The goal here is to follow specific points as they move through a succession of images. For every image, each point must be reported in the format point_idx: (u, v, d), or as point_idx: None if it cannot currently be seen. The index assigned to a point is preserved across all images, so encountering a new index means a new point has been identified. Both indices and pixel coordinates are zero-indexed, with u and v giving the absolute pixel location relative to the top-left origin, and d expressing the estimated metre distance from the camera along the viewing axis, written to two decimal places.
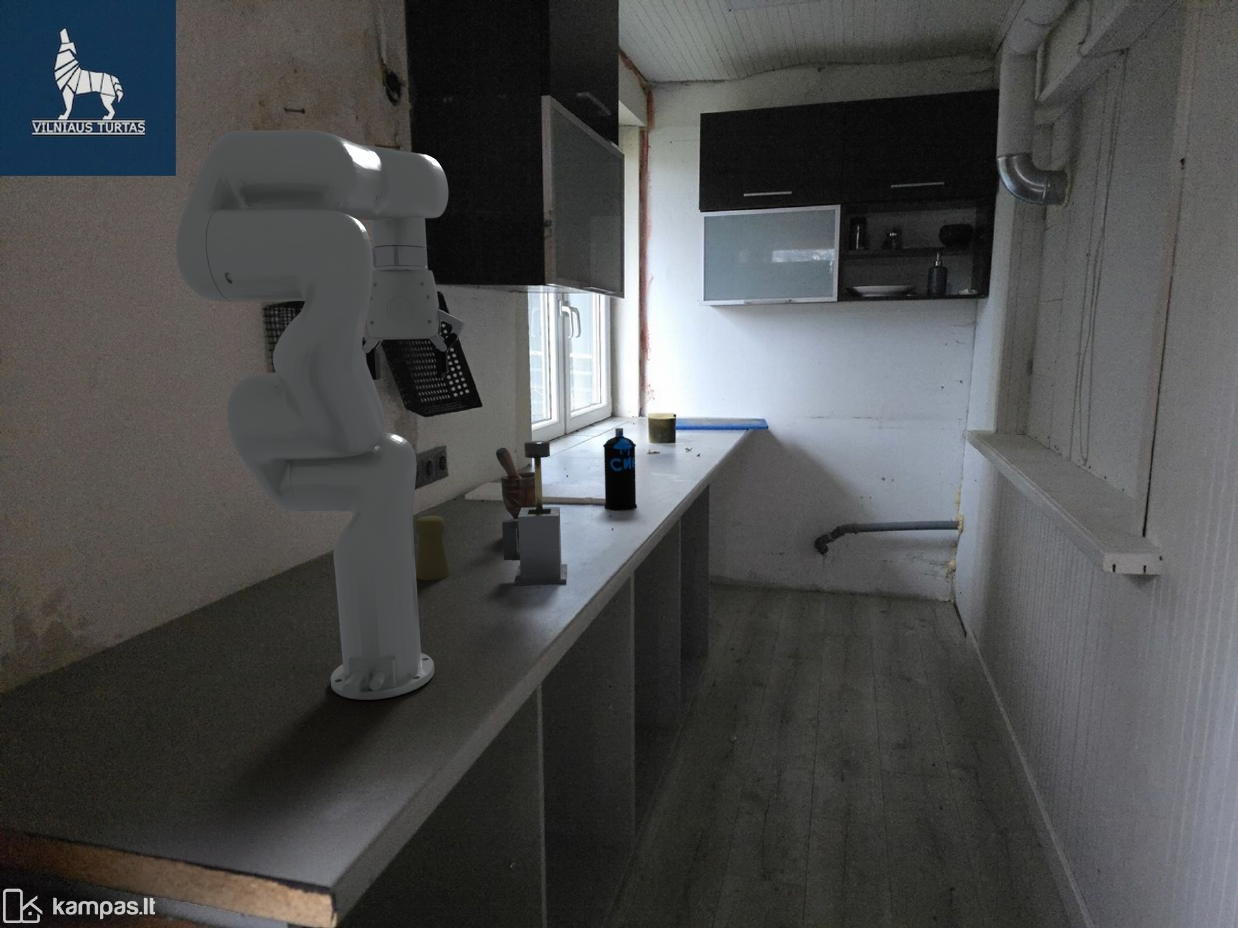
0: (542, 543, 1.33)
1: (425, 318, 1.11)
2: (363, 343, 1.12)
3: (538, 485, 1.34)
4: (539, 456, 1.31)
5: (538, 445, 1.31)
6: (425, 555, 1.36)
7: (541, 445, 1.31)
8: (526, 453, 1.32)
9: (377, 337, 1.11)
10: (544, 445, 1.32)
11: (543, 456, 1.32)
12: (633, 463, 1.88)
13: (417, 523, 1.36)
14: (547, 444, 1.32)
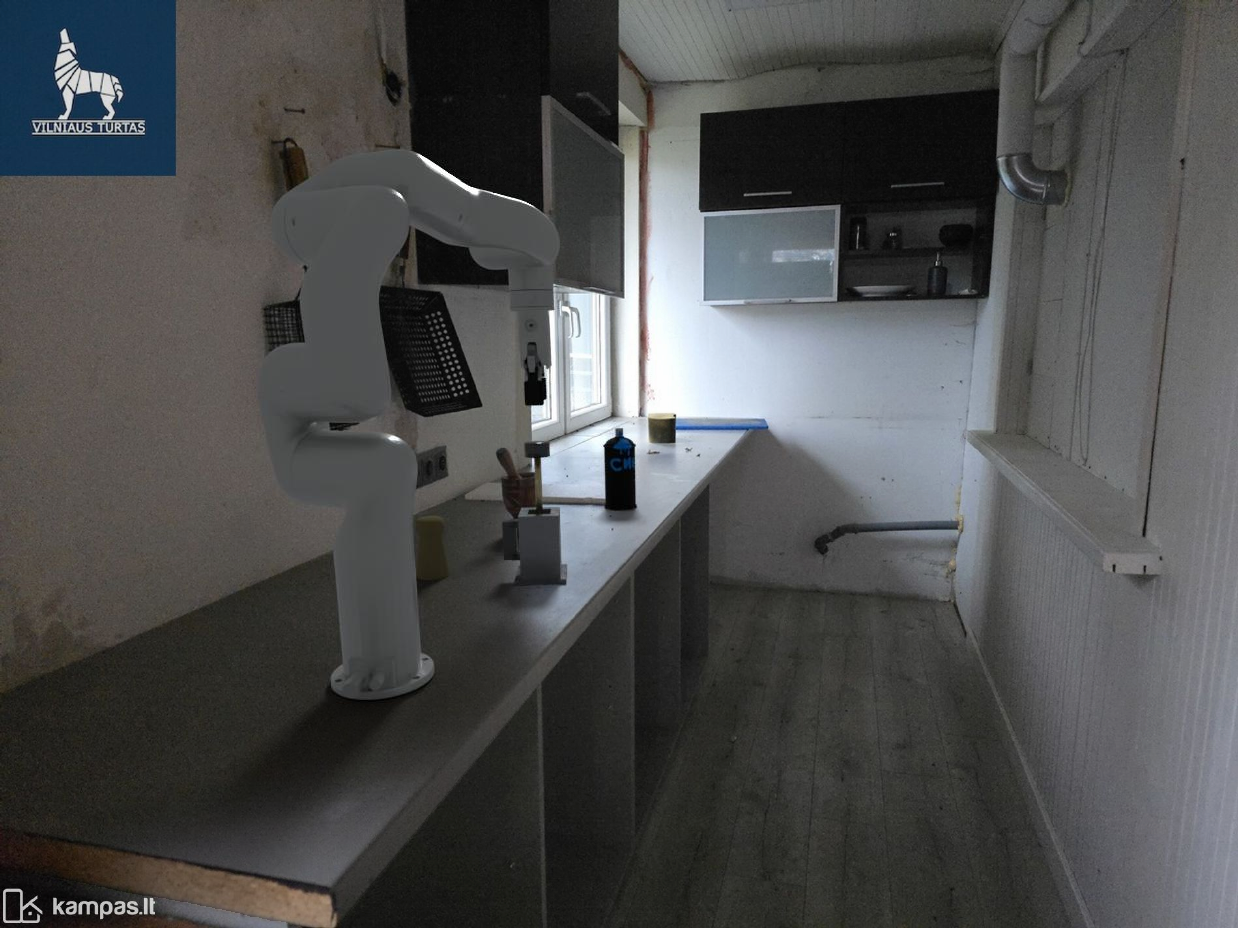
0: (542, 543, 1.33)
1: None
2: (537, 373, 1.25)
3: (538, 485, 1.34)
4: (539, 456, 1.31)
5: (538, 445, 1.31)
6: (425, 555, 1.36)
7: (541, 445, 1.31)
8: (526, 453, 1.32)
9: (549, 367, 1.28)
10: (544, 445, 1.32)
11: (543, 456, 1.32)
12: (633, 463, 1.88)
13: (417, 523, 1.36)
14: (547, 444, 1.32)
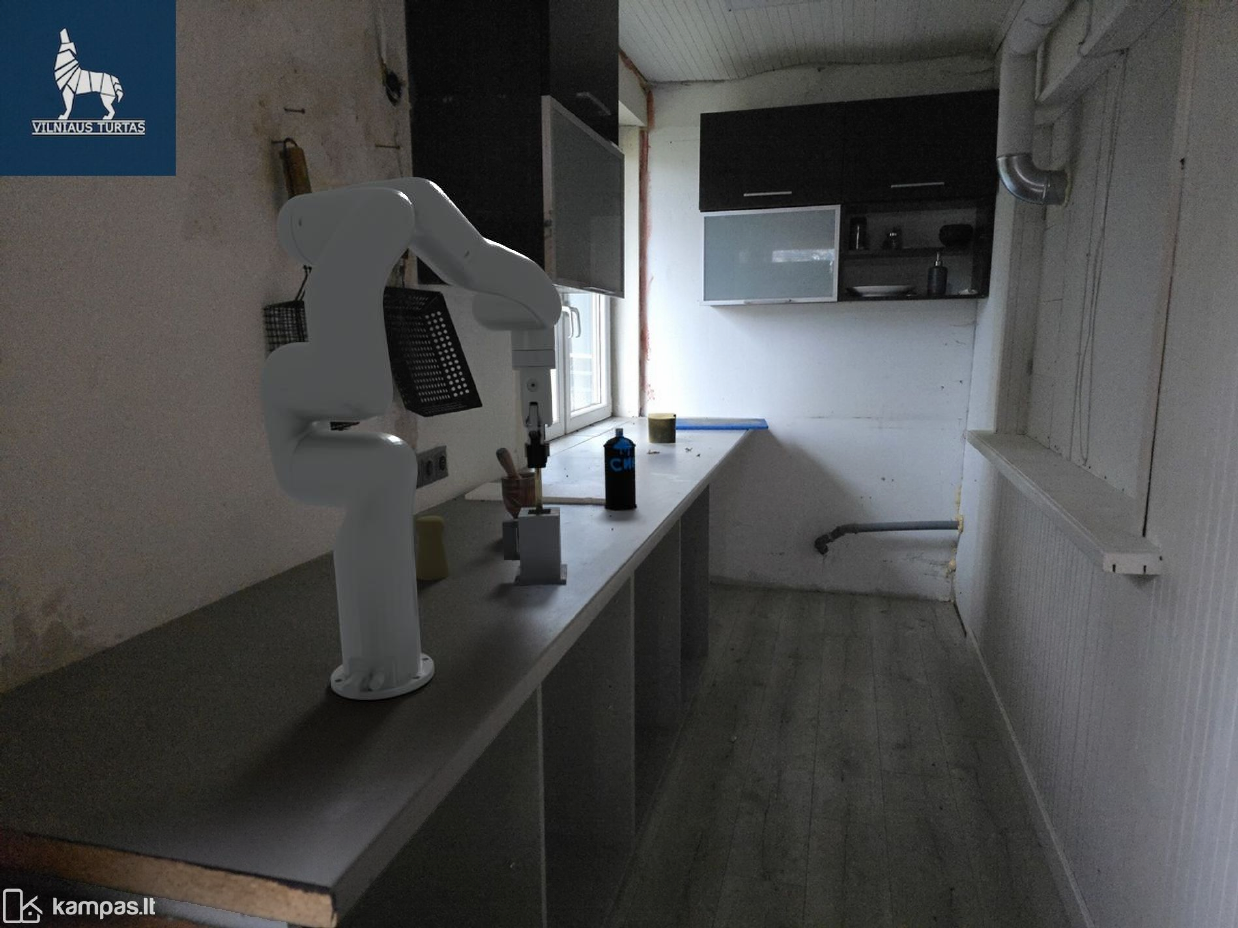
0: (542, 543, 1.33)
1: None
2: (539, 440, 1.29)
3: (538, 485, 1.34)
4: None
5: None
6: (425, 555, 1.36)
7: None
8: (526, 453, 1.32)
9: (550, 425, 1.29)
10: None
11: None
12: (633, 463, 1.88)
13: (417, 523, 1.36)
14: (547, 444, 1.32)
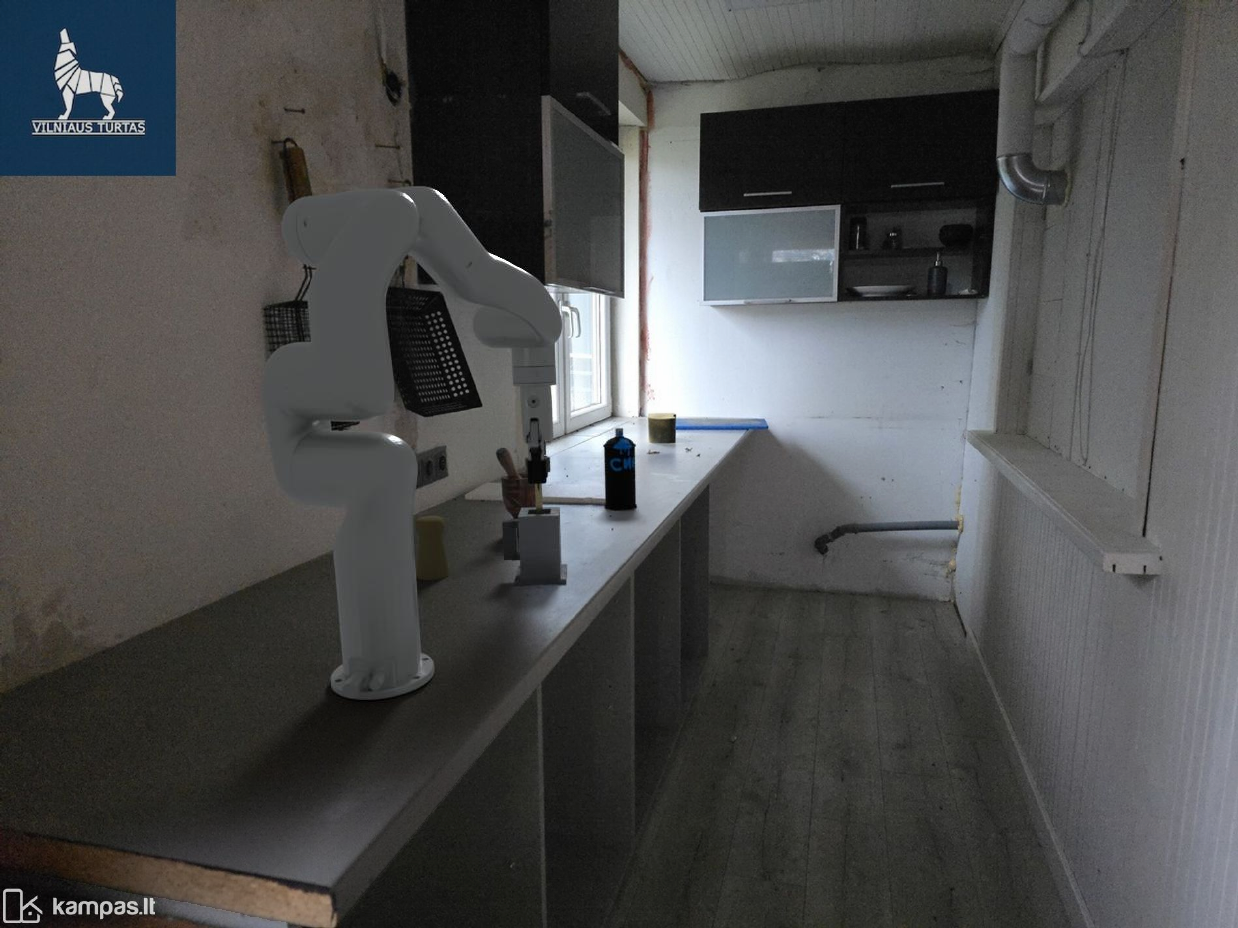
0: (542, 543, 1.33)
1: None
2: (540, 455, 1.29)
3: (539, 500, 1.34)
4: None
5: None
6: (425, 555, 1.36)
7: None
8: (527, 468, 1.32)
9: (551, 441, 1.30)
10: None
11: None
12: (633, 463, 1.88)
13: (417, 523, 1.36)
14: (548, 460, 1.33)
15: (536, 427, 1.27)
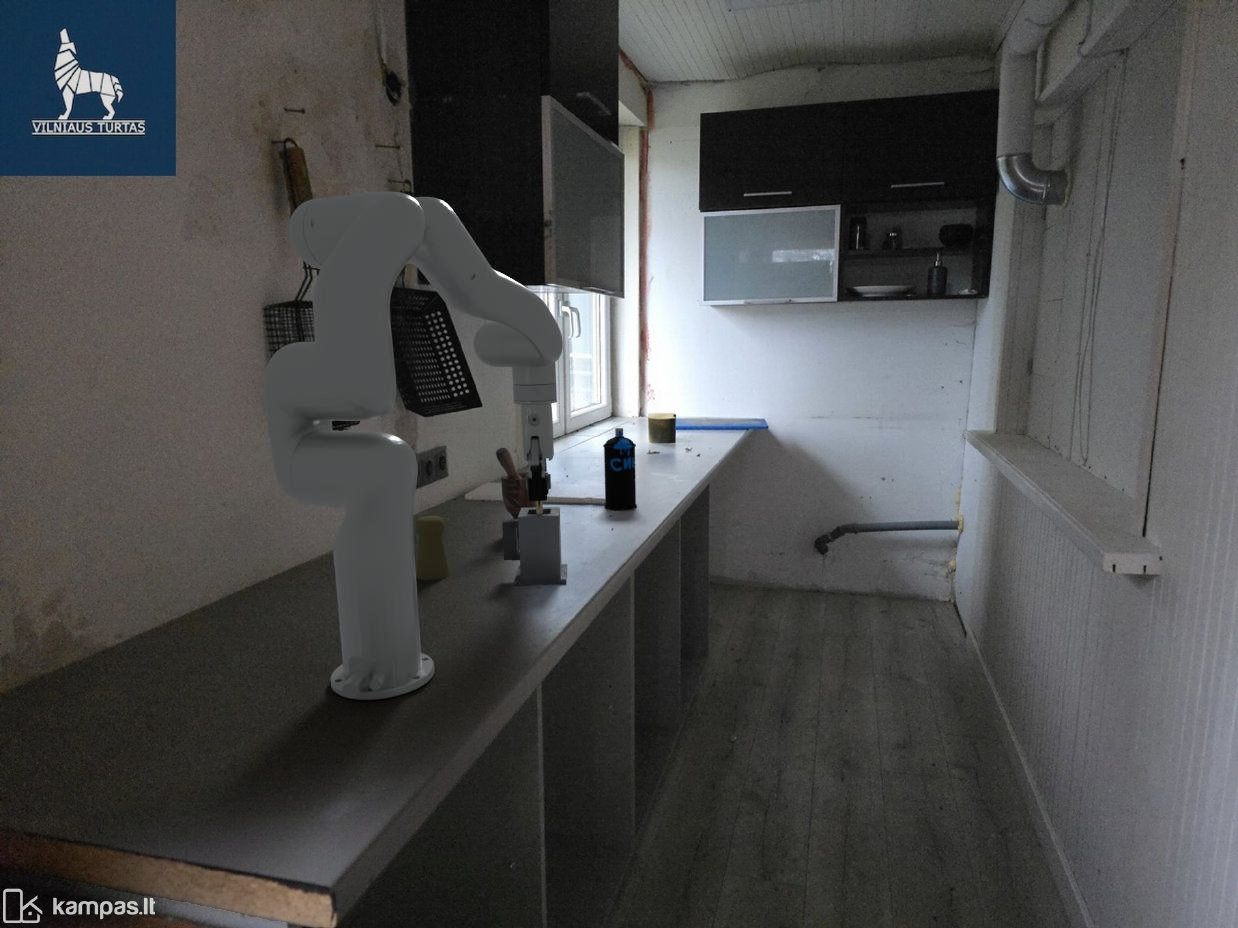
0: (542, 543, 1.33)
1: None
2: (541, 473, 1.30)
3: None
4: None
5: None
6: (425, 555, 1.36)
7: None
8: (527, 485, 1.33)
9: (551, 459, 1.30)
10: None
11: None
12: (633, 463, 1.88)
13: (417, 523, 1.36)
14: (548, 477, 1.33)
15: (537, 445, 1.28)
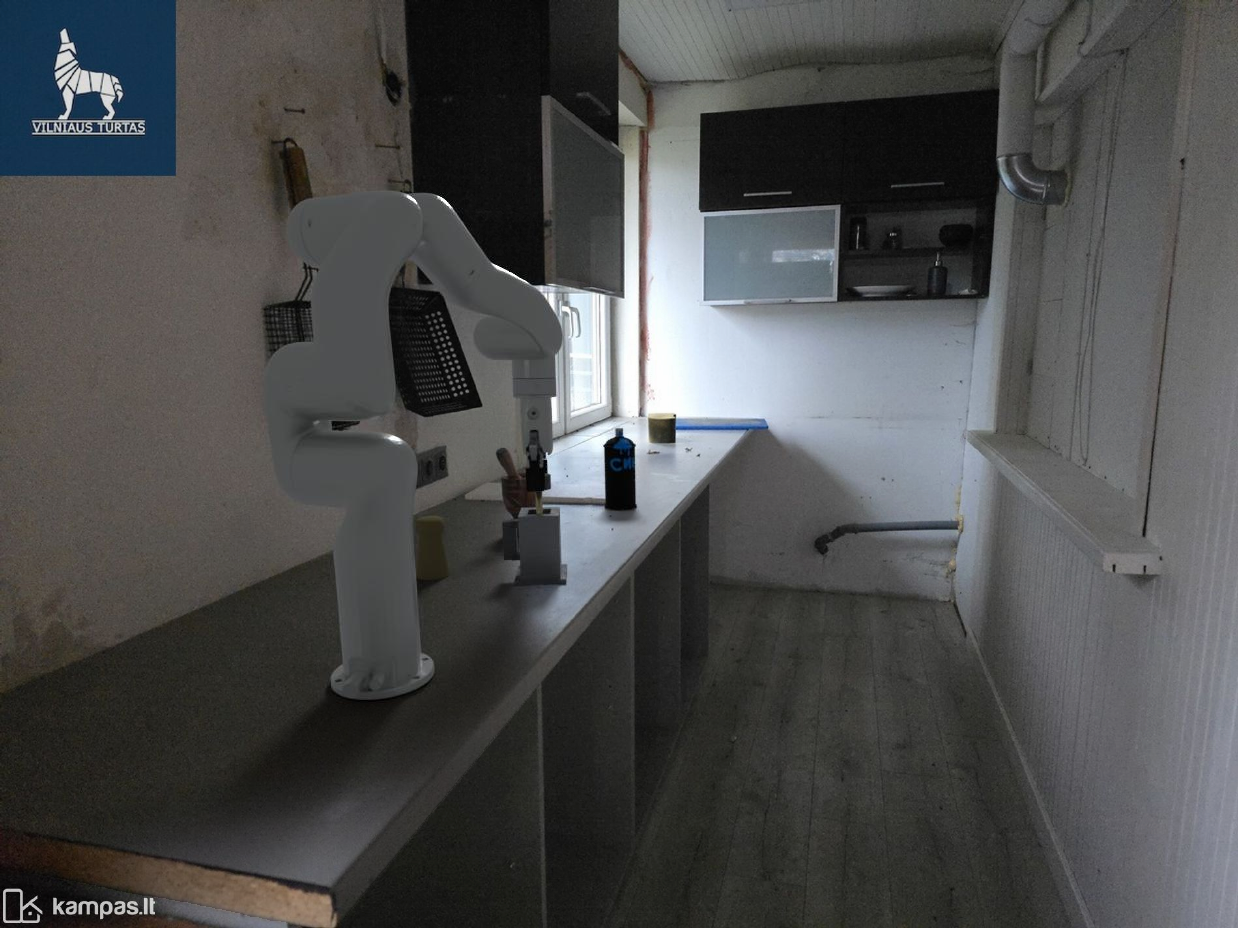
0: (542, 543, 1.33)
1: None
2: (539, 460, 1.27)
3: None
4: None
5: None
6: (425, 555, 1.36)
7: None
8: None
9: (550, 453, 1.30)
10: (545, 478, 1.32)
11: None
12: (633, 463, 1.88)
13: (417, 523, 1.36)
14: (548, 477, 1.33)
15: None
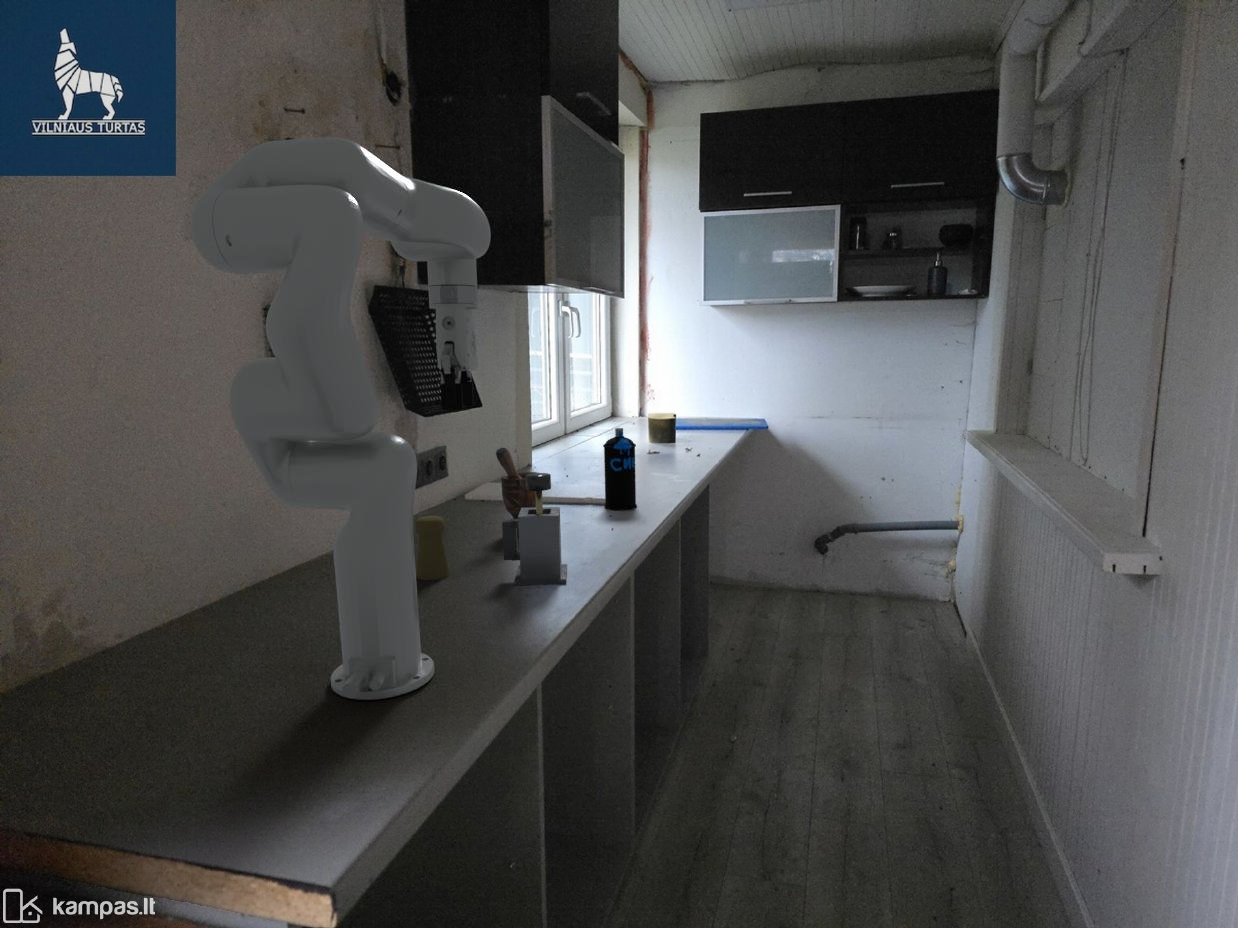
0: (542, 543, 1.33)
1: (476, 352, 1.25)
2: (454, 375, 1.15)
3: None
4: (540, 489, 1.32)
5: (539, 478, 1.32)
6: (425, 555, 1.36)
7: (542, 478, 1.32)
8: (527, 485, 1.33)
9: (469, 369, 1.18)
10: (545, 478, 1.32)
11: (544, 489, 1.33)
12: (633, 463, 1.88)
13: (417, 523, 1.36)
14: (548, 477, 1.33)
15: None
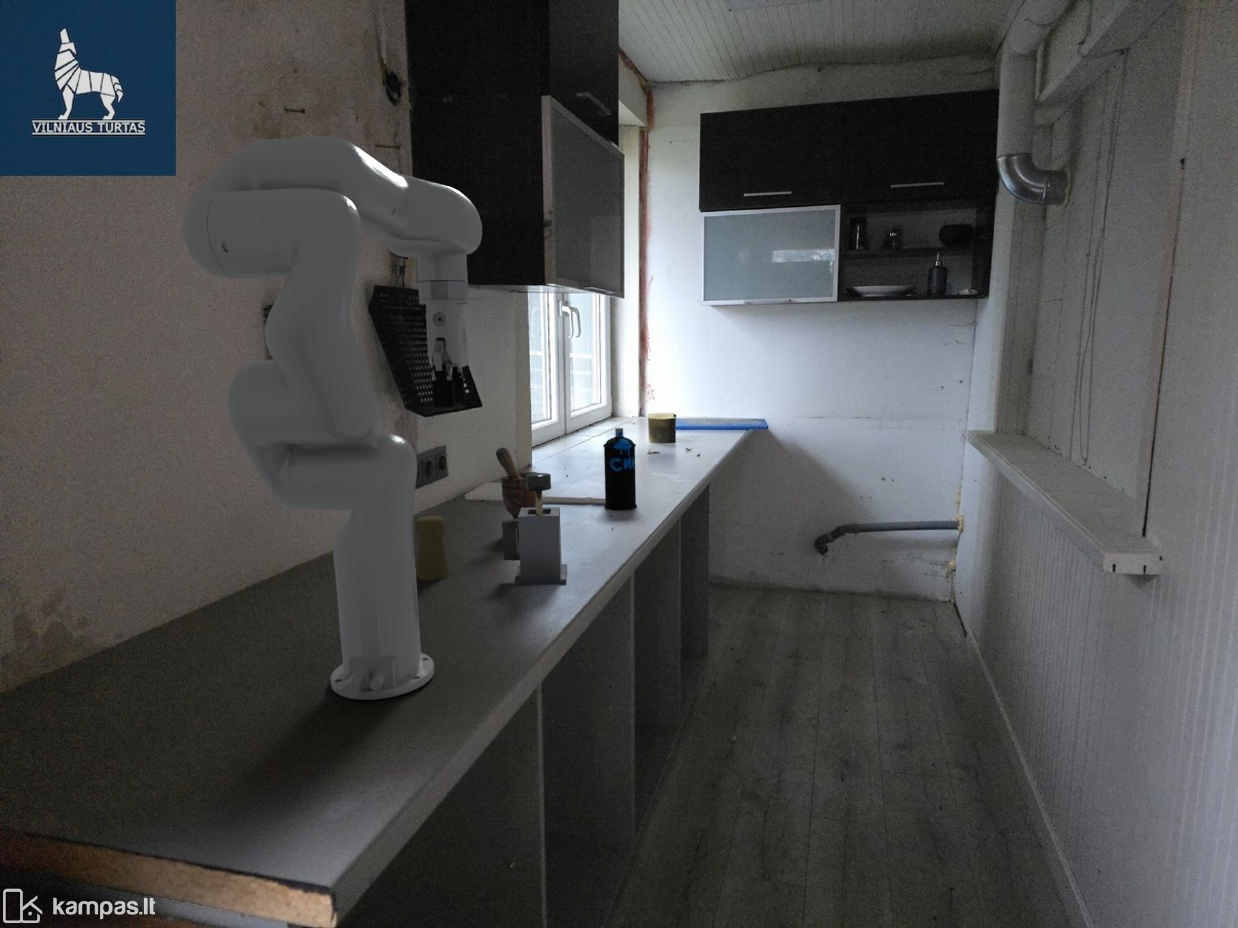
0: (542, 543, 1.33)
1: (467, 347, 1.24)
2: (446, 371, 1.15)
3: None
4: (540, 489, 1.32)
5: (539, 478, 1.32)
6: (425, 555, 1.36)
7: (542, 478, 1.32)
8: (527, 485, 1.33)
9: (461, 365, 1.17)
10: (545, 478, 1.32)
11: (544, 489, 1.33)
12: (633, 463, 1.88)
13: (417, 523, 1.36)
14: (548, 477, 1.33)
15: None
